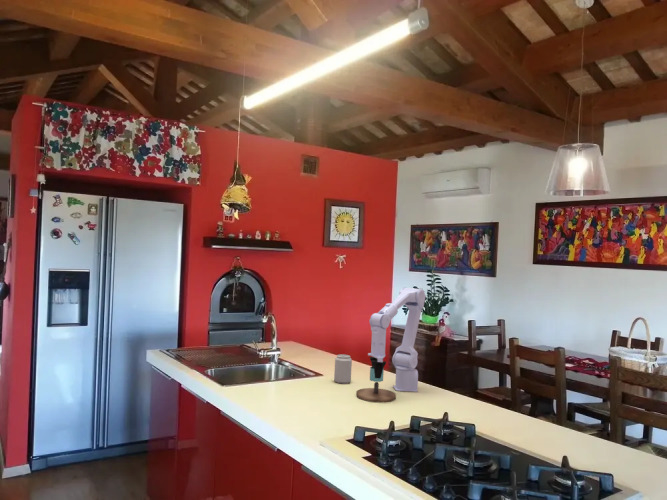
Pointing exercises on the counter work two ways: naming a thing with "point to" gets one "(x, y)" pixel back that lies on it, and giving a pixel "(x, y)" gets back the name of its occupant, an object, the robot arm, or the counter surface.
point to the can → (343, 369)
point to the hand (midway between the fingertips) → (376, 376)
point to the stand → (375, 394)
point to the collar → (372, 375)
